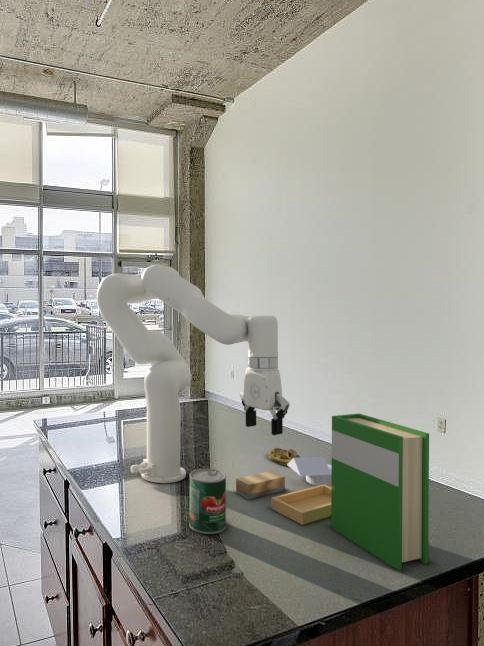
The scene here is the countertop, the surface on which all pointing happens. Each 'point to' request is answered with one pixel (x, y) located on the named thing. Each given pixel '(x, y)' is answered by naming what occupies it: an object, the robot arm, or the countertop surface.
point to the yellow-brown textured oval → (282, 455)
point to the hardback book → (381, 487)
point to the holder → (305, 504)
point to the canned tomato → (207, 501)
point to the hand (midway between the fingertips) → (263, 430)
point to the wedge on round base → (312, 469)
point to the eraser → (260, 484)
